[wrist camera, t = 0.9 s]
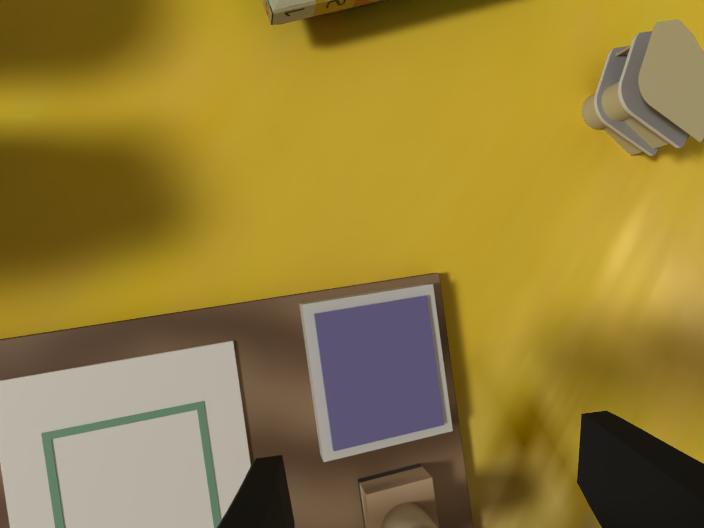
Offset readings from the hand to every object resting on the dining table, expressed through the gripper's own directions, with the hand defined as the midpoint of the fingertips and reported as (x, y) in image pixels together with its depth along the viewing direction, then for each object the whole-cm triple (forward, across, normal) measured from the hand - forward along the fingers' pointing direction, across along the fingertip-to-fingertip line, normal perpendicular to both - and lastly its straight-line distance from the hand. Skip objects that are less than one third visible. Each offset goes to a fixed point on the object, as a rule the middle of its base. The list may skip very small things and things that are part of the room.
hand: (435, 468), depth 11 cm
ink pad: (+16, 0, +6) cm, 17 cm away
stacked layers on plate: (+26, -20, -6) cm, 33 cm away
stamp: (+13, 0, +15) cm, 20 cm away
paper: (+12, +14, +10) cm, 21 cm away
